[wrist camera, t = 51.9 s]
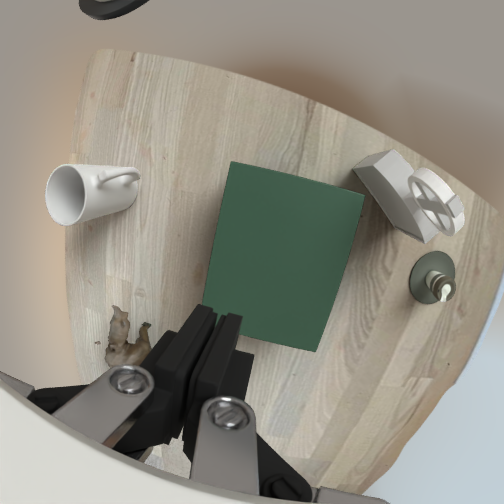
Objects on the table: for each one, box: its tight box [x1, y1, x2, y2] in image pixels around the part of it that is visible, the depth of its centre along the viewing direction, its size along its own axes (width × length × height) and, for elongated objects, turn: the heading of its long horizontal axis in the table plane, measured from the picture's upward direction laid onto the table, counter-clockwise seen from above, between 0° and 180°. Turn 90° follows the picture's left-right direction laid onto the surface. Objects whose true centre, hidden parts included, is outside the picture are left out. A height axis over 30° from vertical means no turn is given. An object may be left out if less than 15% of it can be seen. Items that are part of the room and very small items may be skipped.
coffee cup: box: [410, 251, 456, 304], centre depth 33 cm, size 12×12×5 cm
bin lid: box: [202, 161, 365, 352], centre depth 28 cm, size 16×13×1 cm
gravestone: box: [353, 149, 465, 244], centre depth 25 cm, size 3×9×18 cm, turn 41°
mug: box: [45, 164, 141, 226], centre depth 32 cm, size 10×7×12 cm, turn 108°
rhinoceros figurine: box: [95, 305, 152, 368], centre depth 39 cm, size 8×14×15 cm
